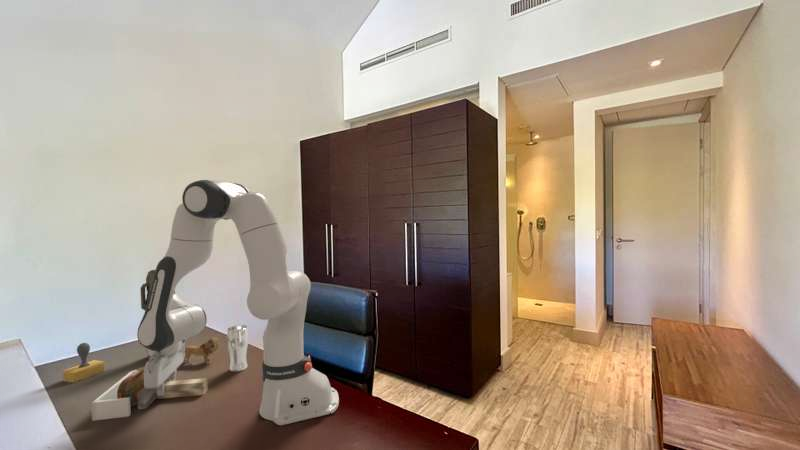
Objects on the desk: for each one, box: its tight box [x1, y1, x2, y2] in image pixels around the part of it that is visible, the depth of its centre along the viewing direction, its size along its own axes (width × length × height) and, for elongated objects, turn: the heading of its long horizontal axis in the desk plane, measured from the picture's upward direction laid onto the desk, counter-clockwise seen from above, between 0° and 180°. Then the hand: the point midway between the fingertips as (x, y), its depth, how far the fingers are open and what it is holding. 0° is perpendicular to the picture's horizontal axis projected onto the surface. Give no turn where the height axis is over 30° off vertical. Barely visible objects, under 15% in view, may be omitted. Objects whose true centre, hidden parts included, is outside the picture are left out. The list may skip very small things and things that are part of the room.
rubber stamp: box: [62, 342, 106, 383], centre depth 127 cm, size 10×6×12 cm, turn 161°
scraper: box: [137, 377, 209, 410], centre depth 112 cm, size 16×14×5 cm
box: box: [90, 369, 138, 421], centre depth 110 cm, size 9×21×5 cm, turn 12°
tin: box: [117, 366, 145, 408], centre depth 110 cm, size 15×3×8 cm, turn 6°
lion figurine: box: [183, 337, 220, 366], centre depth 136 cm, size 15×5×9 cm, turn 106°
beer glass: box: [226, 324, 249, 373], centre depth 131 cm, size 7×7×15 cm
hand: (166, 389), depth 112 cm, fingers open, 5 cm apart
